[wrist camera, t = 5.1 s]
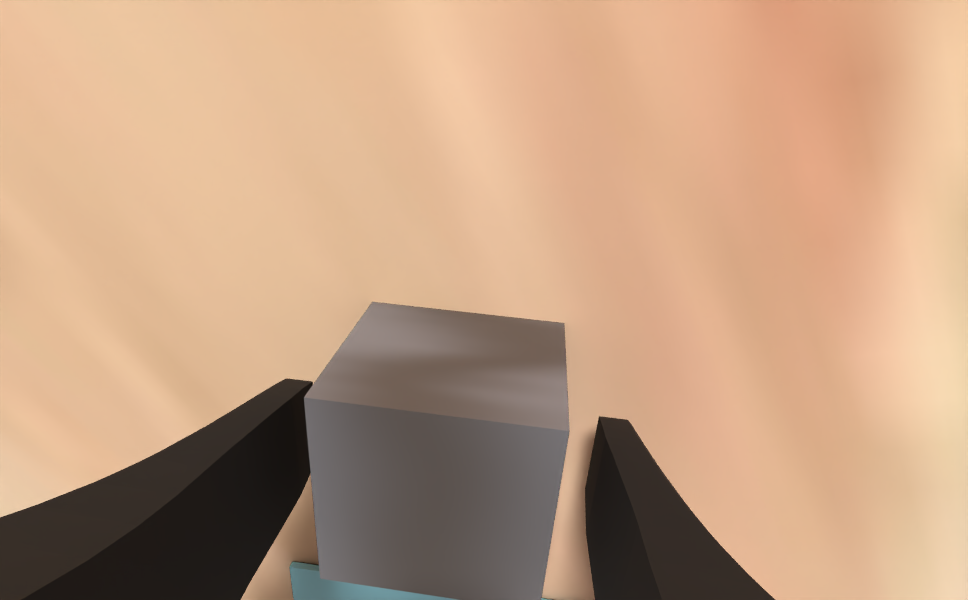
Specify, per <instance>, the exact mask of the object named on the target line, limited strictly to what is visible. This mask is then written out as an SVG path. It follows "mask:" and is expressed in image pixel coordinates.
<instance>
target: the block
mask: <svg viewBox="0 0 968 600" xmlns="http://www.w3.org/2000/svg"><path fill="white" fill-rule="evenodd" d="M304 405H305V416H306V427H307V438H308V449H309V460H310V471H311V483H312V494H313V505H314V516H315V527H316V538H317V549H318V560H319V571H320V579H326V580H332V581H339V582H345V583H352V584H359V585H365V586H372V587H378V588H385V589H392V590H398V591H405V592H411V593H418V594H424V595H431V596H438V597H444V598H451V599H457V600H541V597H542V591H543V585H544V579H545V573H546V567H547V561H548V555H549V549H550V544H551V538H552V532H553V526H554V520H555V514H556V508H557V502H558V496H559V490H560V484H561V478H562V472H563V466H564V460H565V454H566V448H567V442H568V436H569V412H568V391H567V370H566V349H565V328H564V323H558V322H549V321H540V320H531V319H522V318H513V317H504V316H495V315H486V314H477V313H468V312H459V311H450V310H441V309H432V308H423V307H414V306H405V305H396V304H387V303H378V302H372V303H371V305H370V306H369V307H368V309H367V310H366V312H365V313H364V314H363V316H362V317H361V319H360V320H359V321H358V323H357V324H356V326H355V327H354V328H353V330H352V331H351V332H350V334H349V335H348V337H347V338H346V339H345V341H344V342H343V344H342V345H341V346H340V348H339V349H338V351H337V352H336V353H335V355H334V356H333V358H332V359H331V360H330V362H329V363H328V365H327V366H326V367H325V369H324V370H323V372H322V373H321V374H320V376H319V377H318V378H317V380H316V381H315V383H314V384H313V385H312V387H311V388H310V390H309V391H308V392H307V394H306V395H305V397H304Z"/></svg>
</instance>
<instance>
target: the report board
mask: <svg viewBox="0 0 968 600" xmlns="http://www.w3.org/2000/svg"><path fill="white" fill-rule="evenodd" d="M290 575H291V583H292V591H293V599H294V600H457V599H451V598H444V597H438V596H431V595H424V594H418V593H411V592H405V591H398V590H392V589H385V588H378V587H372V586H365V585H359V584H352V583H345V582H339V581H332V580H326V579H320V571H319V565H313V564H306V563H299V562H292V563H291V565H290ZM541 600H550V599H543V598H541Z"/></svg>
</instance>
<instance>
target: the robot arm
mask: <svg viewBox="0 0 968 600" xmlns="http://www.w3.org/2000/svg"><path fill="white" fill-rule="evenodd" d="M312 385H313V382H311V381H303V380H295V379H285V380H283V381H281V382H279V383H277V384H275V385H274V386H272V387H270V388H269V389H267V390H265V391H264V392H262V393H260V394H259V395H257V396H255V397H254V398H252V399H250V400H249V401H247V402H246V403H244V404H242V405H241V406H239V407H237V408H236V409H234V410H232V411H231V412H229V413H227V414H226V415H224V416H222V417H221V418H219V419H217V420H216V421H214V422H212V423H211V424H209V425H207V426H206V427H204V428H202V429H200V430H198V431H197V432H195V433H193V434H191V435H189V436H187V437H186V438H184V439H182V440H180V441H178V442H176V443H175V444H173V445H171V446H169V447H167V448H166V449H164V450H162V451H160V452H158V453H156V454H154V455H152V456H150V457H148V458H146V459H144V460H142V461H140V462H138V463H136V464H134V465H132V466H129V467H127V468H125V469H123V470H121V471H119V472H116V473H114V474H112V475H110V476H108V477H105V478H103V479H101V480H98V481H96V482H94V483H91V484H89V485H86V486H84V487H81V488H79V489H76V490H73V491H71V492H68V493H66V494H63V495H61V496H58V497H56V498H53V499H51V500H48V501H45V502H43V503H40V504H38V505H35V506H32V507H29V508H27V509H24V510H21V511H18V512H15V513H12V514H9V515H6V516H3V517H0V600H241V598H242V596H243V594H244V592H245V590H246V588H247V586H248V585H249V583H250V581H251V580H252V578H253V576H254V574H255V573H256V571H257V569H258V568H259V566H260V564H261V563H262V561H263V559H264V557H265V556H266V554H267V552H268V551H269V549H270V547H271V546H272V544H273V542H274V540H275V539H276V537H277V535H278V534H279V532H280V530H281V529H282V527H283V525H284V523H285V522H286V520H287V518H288V517H289V515H290V513H291V511H292V510H293V508H294V506H295V504H296V503H297V501H298V499H299V497H300V495H301V494H302V491H303V489H304V487H305V485H306V482H307V480H308V478H309V475H310V473H311V471H310V460H309V449H308V438H307V427H306V416H305V405H304V397H305V395H306V394H307V392H308V391H309V390H310V388H311V387H312ZM585 503H586V536H587V543H588V551H589V558H590V566H591V573H592V581H593V588H594V595H595V600H775V599H774V598H773V597H772V596H771V595H769V594H768V593H767V592H766V591H765V590H764V589H763V588H762V587H761V586H760V585H759V584H758V583H757V582H756V581H755V580H754V579H753V578H752V577H751V576H750V575H748V574H747V573H746V572H745V570H744V569H743V568H742V567H741V566H740V565H739V564H738V563H737V562H736V561H735V560H734V559H733V558H732V557H731V556H730V555H729V554H728V553H727V552H726V551H725V549H724V548H723V547H722V546H721V545H720V544H719V543H718V542H717V541H716V540H715V539H714V537H713V536H712V535H711V534H710V533H709V532H708V530H707V529H706V528H705V527H704V526H703V524H702V523H701V522H700V521H699V519H698V518H697V517H696V516H695V515H694V513H693V512H692V511H691V510H690V508H689V507H688V506H687V504H686V503H685V502H684V501H683V499H682V498H681V497H680V495H679V494H678V493H677V491H676V490H675V488H674V487H673V486H672V484H671V483H670V482H669V480H668V479H667V477H666V476H665V475H664V473H663V472H662V470H661V469H660V468H659V466H658V465H657V463H656V462H655V460H654V459H653V457H652V456H651V454H650V453H649V451H648V450H647V448H646V447H645V445H644V443H643V442H642V440H641V439H640V437H639V436H638V434H637V432H636V431H635V429H634V428H633V426H632V425H631V423H630V422H629V421H628V420H624V419H616V418H608V417H600V416H599V420H598V425H597V430H596V435H595V440H594V446H593V451H592V456H591V461H590V467H589V472H588V477H587V482H586V487H585Z"/></svg>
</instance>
